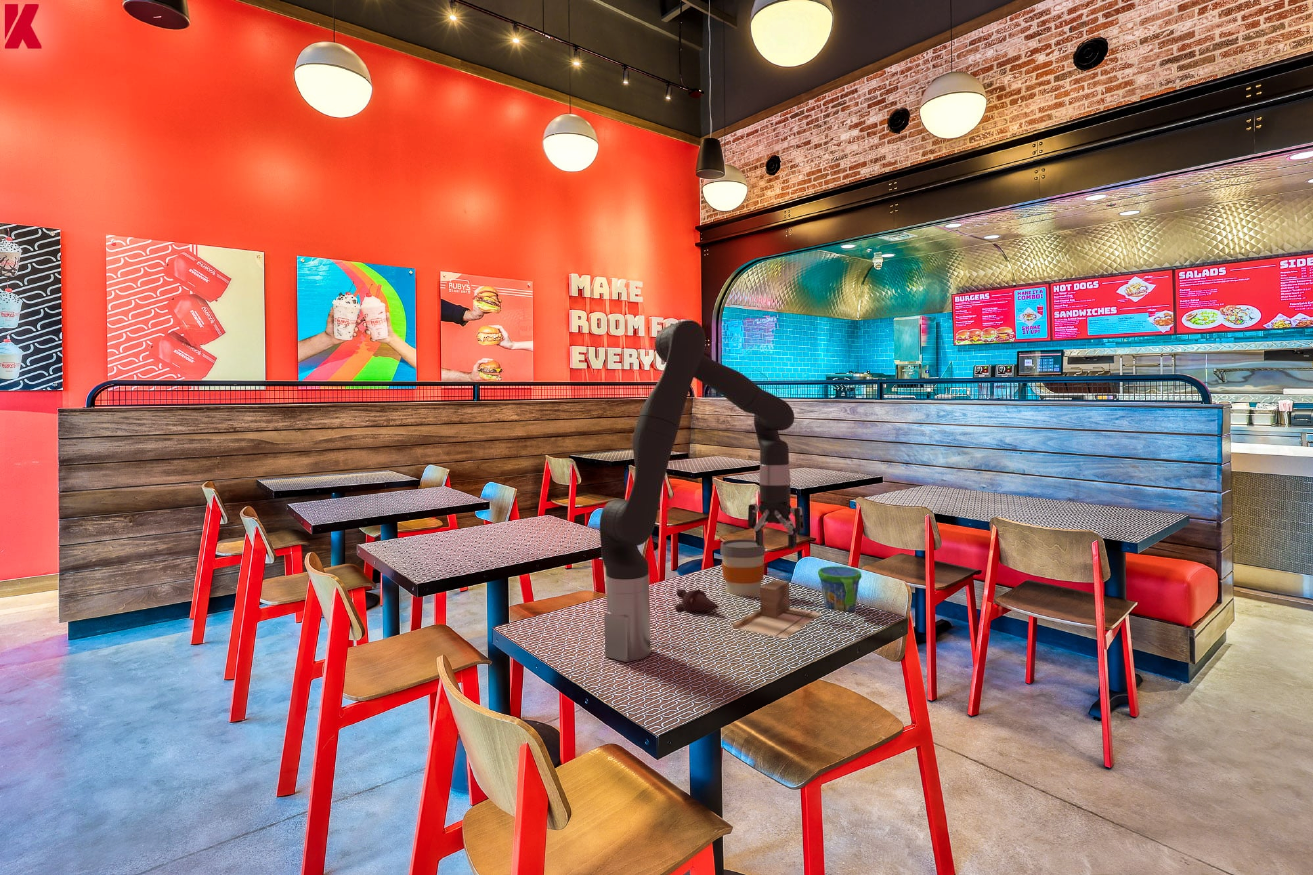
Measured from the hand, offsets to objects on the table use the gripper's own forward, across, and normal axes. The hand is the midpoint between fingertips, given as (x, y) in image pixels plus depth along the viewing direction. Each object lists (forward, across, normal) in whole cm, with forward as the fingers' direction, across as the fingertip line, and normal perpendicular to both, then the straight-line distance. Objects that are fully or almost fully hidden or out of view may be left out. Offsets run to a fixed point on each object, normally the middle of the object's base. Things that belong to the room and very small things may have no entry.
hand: (775, 547), depth 158 cm
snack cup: (+18, +11, +14) cm, 25 cm away
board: (+18, +3, -6) cm, 19 cm away
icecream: (+18, -18, -9) cm, 27 cm away
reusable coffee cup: (+18, -16, +12) cm, 27 cm away
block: (+16, 0, -1) cm, 16 cm away
